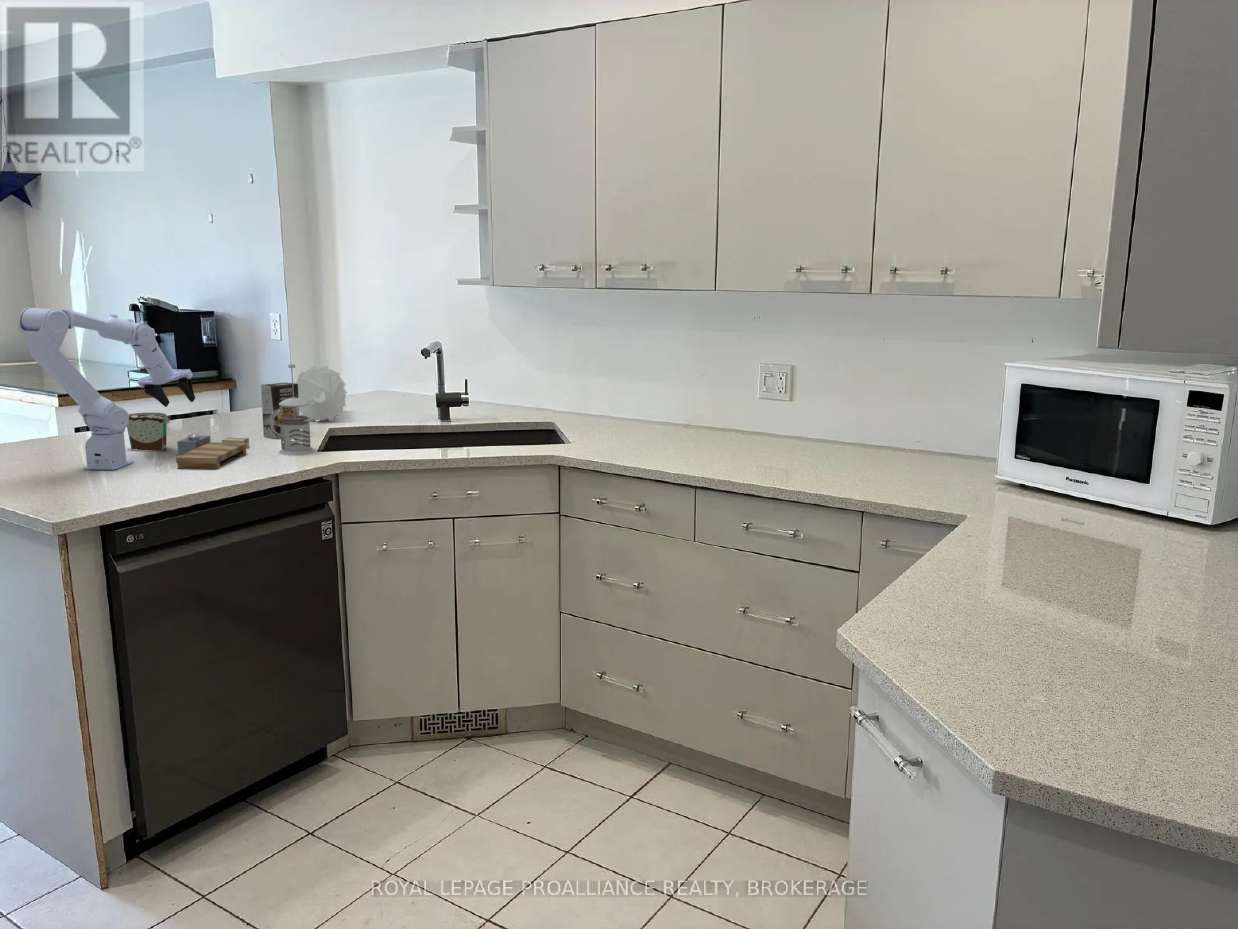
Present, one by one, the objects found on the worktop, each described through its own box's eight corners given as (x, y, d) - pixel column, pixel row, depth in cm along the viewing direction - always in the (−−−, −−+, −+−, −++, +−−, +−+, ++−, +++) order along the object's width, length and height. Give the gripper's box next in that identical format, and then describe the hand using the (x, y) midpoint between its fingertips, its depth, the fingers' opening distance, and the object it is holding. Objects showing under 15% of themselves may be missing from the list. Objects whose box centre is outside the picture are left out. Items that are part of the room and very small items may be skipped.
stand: (215, 469, 231) (214, 458, 231) (176, 468, 231) (175, 457, 231) (247, 453, 251) (246, 443, 250) (211, 452, 251) (210, 442, 250)
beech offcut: (243, 450, 256) (242, 440, 255) (222, 450, 256) (221, 439, 255) (249, 448, 260) (248, 437, 259) (229, 447, 260) (228, 437, 259)
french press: (320, 452, 255) (316, 364, 250) (279, 457, 248) (274, 366, 242) (306, 446, 262) (302, 360, 257) (266, 451, 255) (261, 362, 249)
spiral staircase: (333, 422, 324) (335, 431, 300) (285, 403, 317) (283, 410, 294) (354, 376, 323) (357, 382, 300) (306, 355, 317) (305, 359, 294)
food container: (180, 447, 257) (177, 412, 255) (168, 451, 251) (164, 416, 249) (140, 445, 258) (136, 411, 256) (126, 449, 252) (123, 414, 250)
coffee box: (276, 439, 272) (272, 386, 268) (262, 436, 275) (259, 384, 272) (301, 435, 279) (298, 383, 276) (288, 432, 283) (285, 381, 279)
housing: (196, 456, 247) (195, 438, 246) (178, 455, 247) (177, 438, 246) (211, 449, 256) (209, 432, 255) (193, 449, 256) (191, 432, 255)
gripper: (185, 349, 244) (209, 389, 253) (135, 358, 246) (160, 398, 254) (176, 364, 239) (201, 404, 248) (125, 373, 240) (151, 413, 249)
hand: (180, 402), depth 251 cm, fingers open, 7 cm apart
